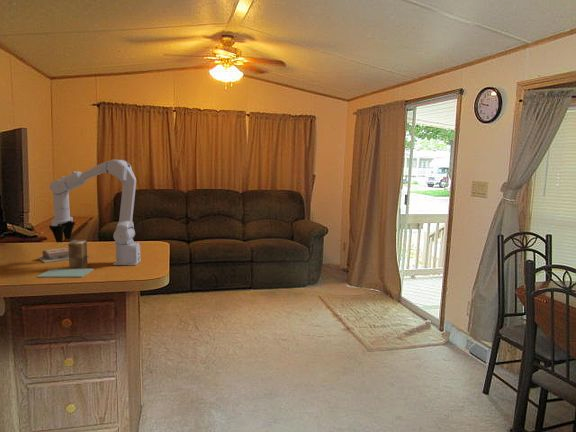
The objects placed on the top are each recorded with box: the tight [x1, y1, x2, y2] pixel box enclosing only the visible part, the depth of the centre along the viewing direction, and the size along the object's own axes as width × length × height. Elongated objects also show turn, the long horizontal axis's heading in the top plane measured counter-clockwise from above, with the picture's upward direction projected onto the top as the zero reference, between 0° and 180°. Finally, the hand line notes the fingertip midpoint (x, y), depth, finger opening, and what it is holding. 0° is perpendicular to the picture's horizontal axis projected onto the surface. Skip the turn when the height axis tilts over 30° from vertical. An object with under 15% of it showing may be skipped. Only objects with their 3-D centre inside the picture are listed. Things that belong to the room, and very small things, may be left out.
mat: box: [36, 268, 94, 279], centre depth 156 cm, size 16×11×1 cm
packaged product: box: [38, 246, 90, 264], centre depth 181 cm, size 18×5×10 cm
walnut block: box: [67, 239, 89, 269], centre depth 164 cm, size 5×5×11 cm
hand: (63, 240), depth 171 cm, fingers open, 7 cm apart
